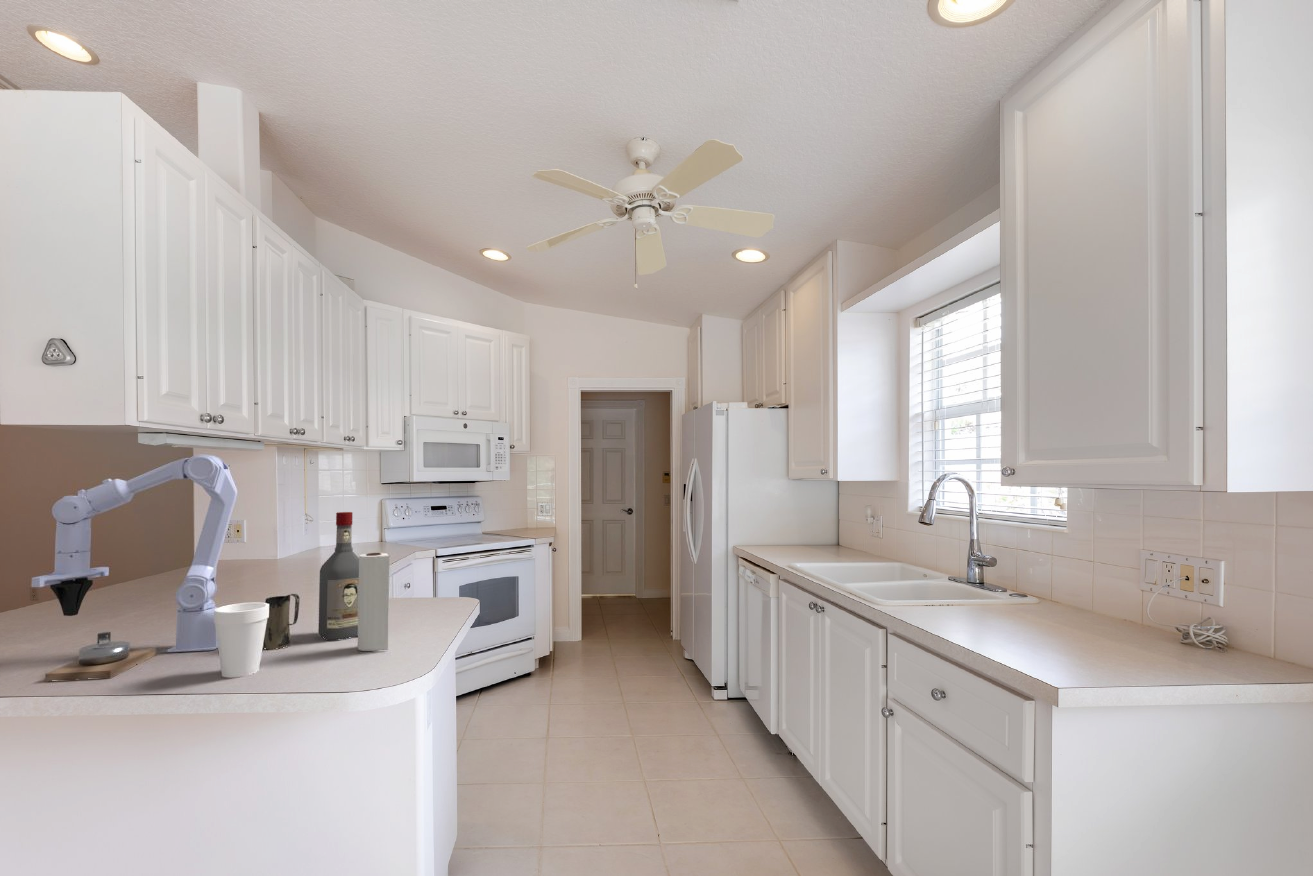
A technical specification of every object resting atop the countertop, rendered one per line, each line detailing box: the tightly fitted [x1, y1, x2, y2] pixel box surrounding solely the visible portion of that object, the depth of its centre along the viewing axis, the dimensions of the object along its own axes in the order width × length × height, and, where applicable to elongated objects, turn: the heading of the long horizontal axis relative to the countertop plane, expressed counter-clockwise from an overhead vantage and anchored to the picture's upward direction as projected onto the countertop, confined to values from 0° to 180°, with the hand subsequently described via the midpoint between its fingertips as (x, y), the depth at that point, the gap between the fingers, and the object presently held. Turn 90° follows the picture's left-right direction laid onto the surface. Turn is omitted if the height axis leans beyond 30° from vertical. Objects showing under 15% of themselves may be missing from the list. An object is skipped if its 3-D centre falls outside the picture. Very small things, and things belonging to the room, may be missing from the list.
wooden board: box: [44, 647, 157, 682], centre depth 135 cm, size 11×16×2 cm
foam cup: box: [214, 602, 269, 679], centre depth 132 cm, size 10×9×13 cm
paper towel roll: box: [357, 552, 391, 652], centre depth 149 cm, size 7×6×21 cm
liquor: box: [318, 511, 359, 641], centre depth 161 cm, size 9×9×30 cm
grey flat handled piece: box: [78, 631, 131, 665], centre depth 137 cm, size 15×8×3 cm, turn 41°
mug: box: [262, 593, 300, 650], centre depth 151 cm, size 8×6×12 cm
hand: (70, 615), depth 141 cm, fingers closed
